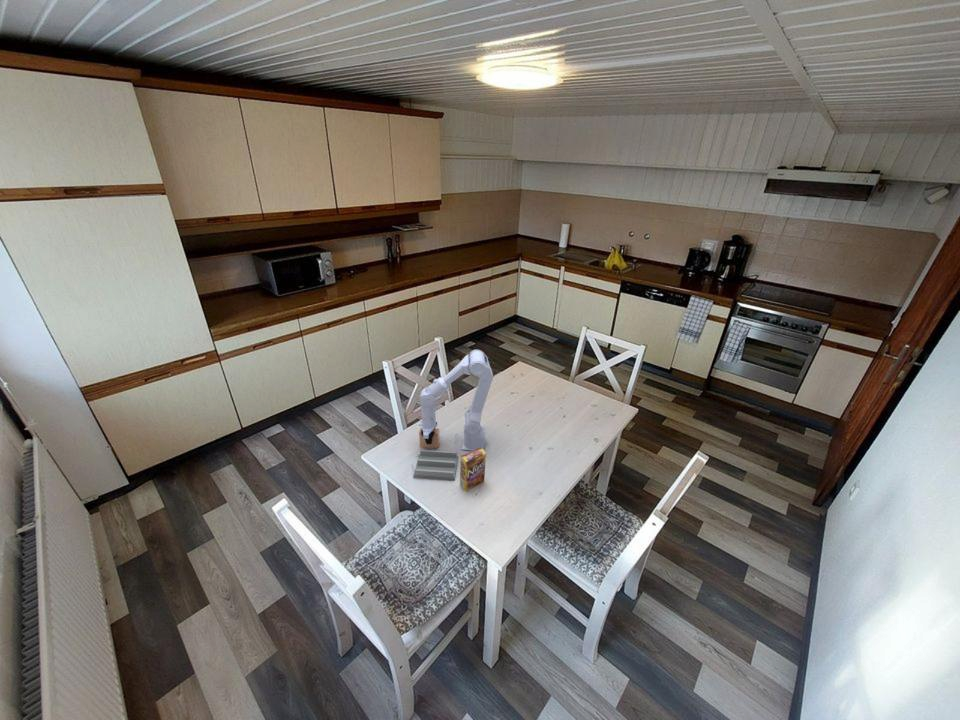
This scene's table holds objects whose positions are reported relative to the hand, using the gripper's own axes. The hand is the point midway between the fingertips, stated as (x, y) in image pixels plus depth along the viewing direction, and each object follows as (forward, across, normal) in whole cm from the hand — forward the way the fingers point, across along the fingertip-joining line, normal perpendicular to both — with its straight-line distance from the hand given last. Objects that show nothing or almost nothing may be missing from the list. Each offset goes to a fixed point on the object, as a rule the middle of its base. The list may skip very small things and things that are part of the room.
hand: (429, 440), depth 165 cm
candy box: (+3, +20, +20) cm, 28 cm away
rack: (+2, +13, +5) cm, 14 cm away
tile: (+2, 0, 0) cm, 2 cm away
